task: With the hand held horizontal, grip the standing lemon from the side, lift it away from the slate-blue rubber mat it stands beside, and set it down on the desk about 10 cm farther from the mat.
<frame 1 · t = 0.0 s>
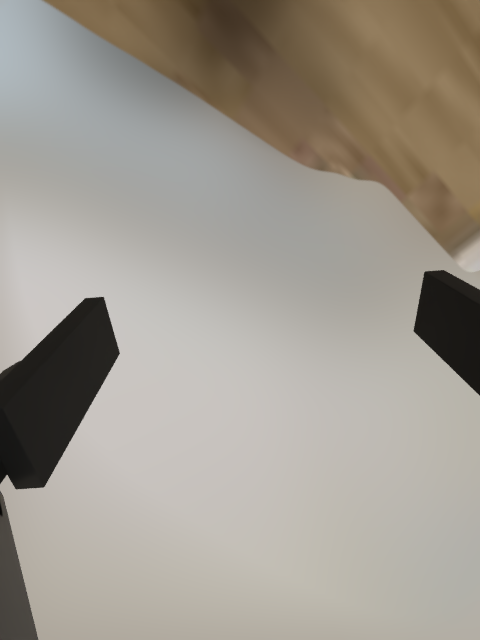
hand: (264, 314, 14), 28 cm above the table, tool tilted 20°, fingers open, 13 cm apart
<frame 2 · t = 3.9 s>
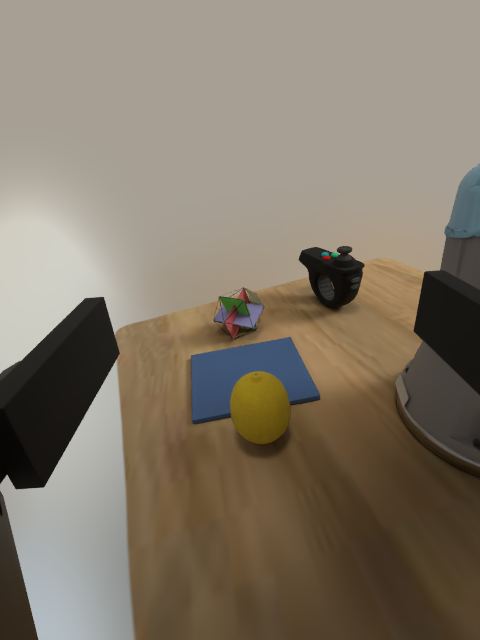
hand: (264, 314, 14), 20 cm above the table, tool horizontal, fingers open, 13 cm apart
geometric puzzle: (241, 333, 50), on the table
blue mat: (248, 376, 41), on the table
controller: (328, 302, 55), on the table
lemon: (264, 438, 32), on the table
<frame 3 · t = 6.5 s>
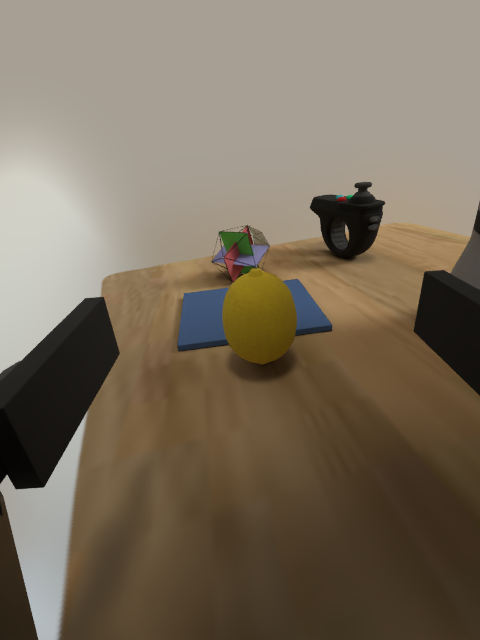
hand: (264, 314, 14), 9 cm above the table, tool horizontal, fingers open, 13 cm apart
geometric puzzle: (242, 278, 44), on the table
blue mat: (247, 311, 35), on the table
controller: (341, 255, 49), on the table
lemon: (262, 365, 27), on the table
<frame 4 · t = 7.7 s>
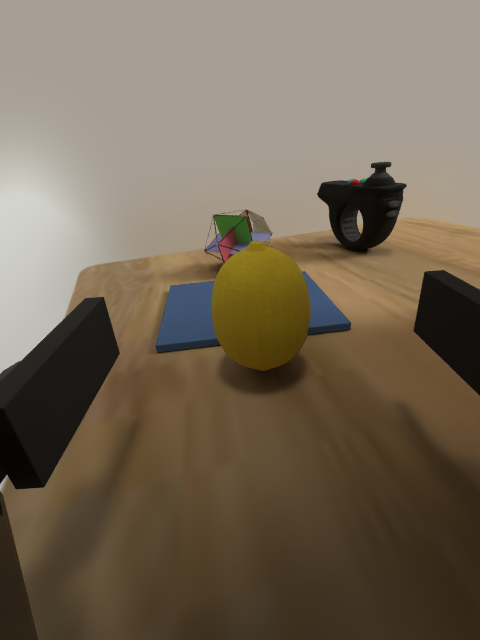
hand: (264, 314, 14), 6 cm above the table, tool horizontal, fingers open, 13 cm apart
geometric puzzle: (240, 271, 38), on the table
blue mat: (245, 307, 29), on the table
controller: (352, 248, 43), on the table
lemon: (263, 372, 20), on the table
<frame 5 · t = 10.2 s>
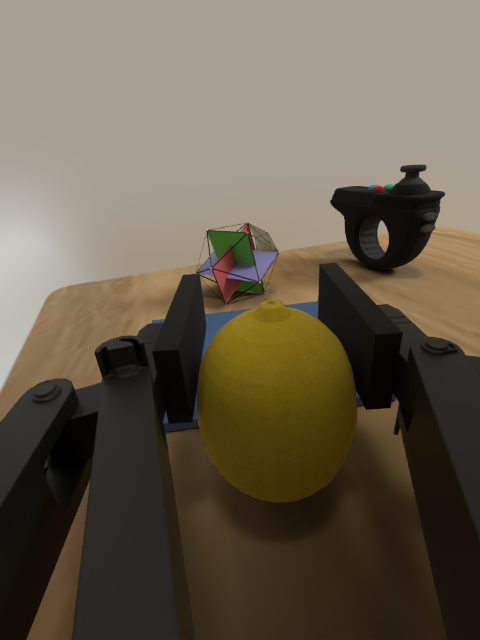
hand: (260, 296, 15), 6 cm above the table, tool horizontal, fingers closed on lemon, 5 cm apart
geometric puzzle: (239, 297, 32), on the table
blue mat: (247, 355, 22), on the table
controller: (373, 266, 36), on the table
lemon: (277, 482, 14), on the table, touching gripper
when the fingers open (6 cm above the table, at t = 17.3 s): lemon stays where it is, on the table.
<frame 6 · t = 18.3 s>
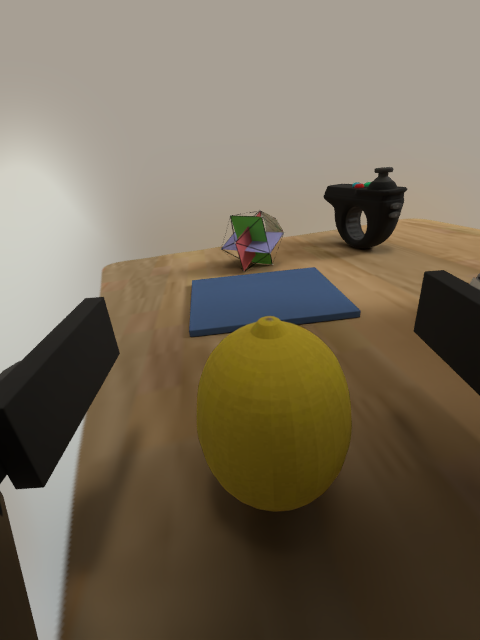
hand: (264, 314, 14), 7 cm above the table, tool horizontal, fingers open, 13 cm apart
geometric puzzle: (253, 267, 42), on the table
blue mat: (263, 298, 32), on the table
controller: (356, 247, 46), on the table
lemon: (275, 490, 14), on the table
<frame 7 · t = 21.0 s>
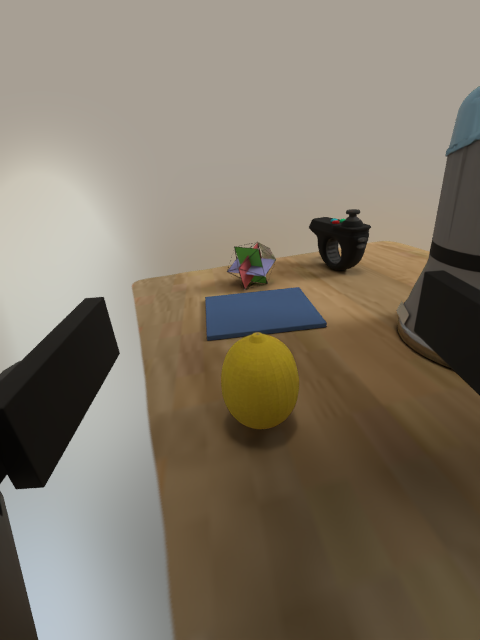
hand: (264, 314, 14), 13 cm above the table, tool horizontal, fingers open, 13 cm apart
geometric puzzle: (252, 286, 53), on the table
blue mat: (259, 312, 43), on the table
controller: (335, 268, 58), on the table
lemon: (262, 426, 25), on the table
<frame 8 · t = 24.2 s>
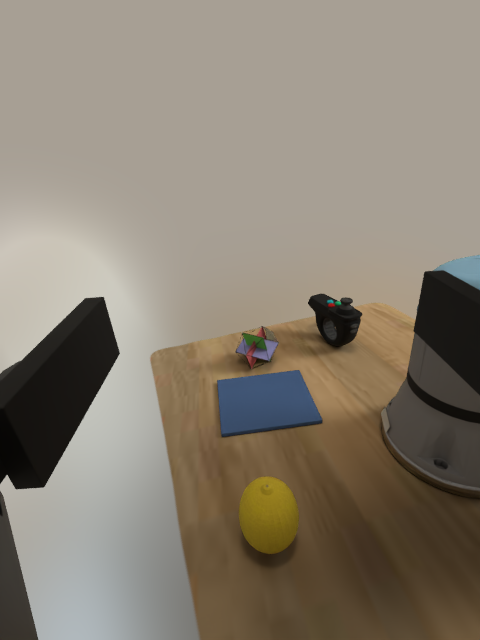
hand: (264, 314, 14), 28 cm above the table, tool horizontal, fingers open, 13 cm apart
geometric puzzle: (257, 363, 60), on the table
blue mat: (264, 401, 50), on the table
controller: (331, 341, 65), on the table
lemon: (270, 540, 32), on the table
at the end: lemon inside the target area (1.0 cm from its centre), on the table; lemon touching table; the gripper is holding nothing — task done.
